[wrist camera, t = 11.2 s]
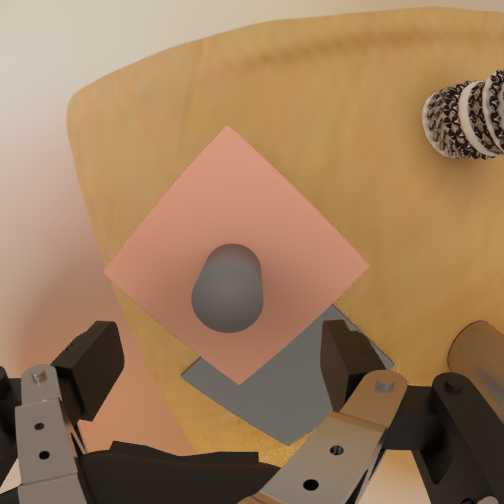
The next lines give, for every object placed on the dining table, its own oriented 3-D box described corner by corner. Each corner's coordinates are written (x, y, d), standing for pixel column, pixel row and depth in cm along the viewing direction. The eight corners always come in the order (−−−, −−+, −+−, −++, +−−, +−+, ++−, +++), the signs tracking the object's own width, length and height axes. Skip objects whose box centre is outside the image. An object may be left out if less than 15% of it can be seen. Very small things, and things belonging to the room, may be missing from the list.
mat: (393, 362, 39) (394, 364, 38) (287, 443, 42) (288, 446, 42) (293, 267, 35) (293, 269, 35) (181, 374, 39) (180, 376, 38)
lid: (365, 262, 22) (400, 293, 16) (239, 377, 24) (236, 430, 18) (228, 127, 19) (218, 109, 14) (108, 268, 22) (68, 299, 16)
